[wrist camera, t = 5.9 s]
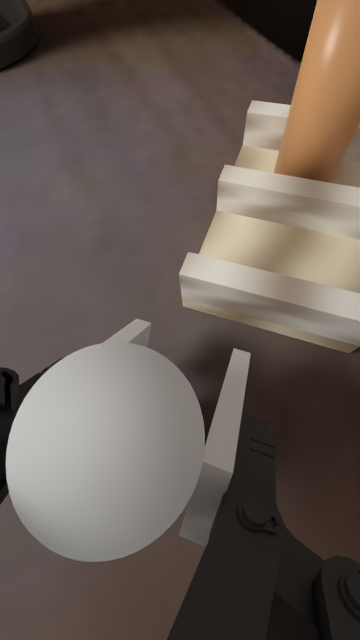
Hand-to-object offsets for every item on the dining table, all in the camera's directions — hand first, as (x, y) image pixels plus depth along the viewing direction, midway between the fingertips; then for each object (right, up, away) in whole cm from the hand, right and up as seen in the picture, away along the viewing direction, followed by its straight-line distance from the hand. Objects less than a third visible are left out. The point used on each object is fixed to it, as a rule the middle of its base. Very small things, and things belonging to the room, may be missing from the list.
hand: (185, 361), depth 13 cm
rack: (+7, +8, +7) cm, 13 cm away
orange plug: (+8, +12, +7) cm, 16 cm away
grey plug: (-1, -5, +1) cm, 5 cm away
